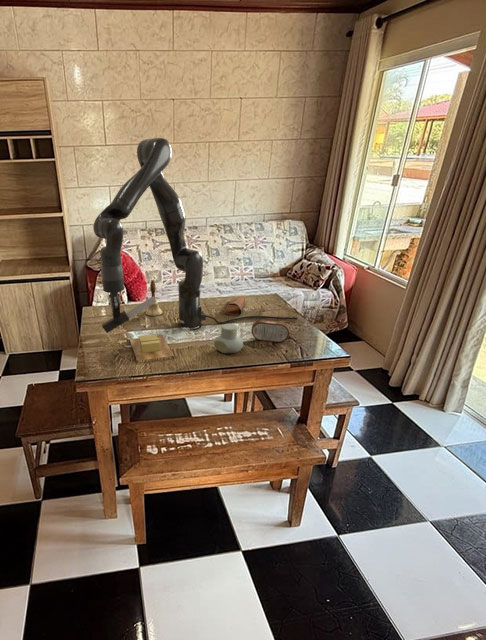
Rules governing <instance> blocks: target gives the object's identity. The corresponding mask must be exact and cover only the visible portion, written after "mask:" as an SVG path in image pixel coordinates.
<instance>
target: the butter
mask: <svg viewBox="0 0 486 640" xmlns="http://www.w3.org/2000/svg"><path fill="white" fill-rule="evenodd" d="M157 336H158V335H157V334H155V333H153V334H147V335H146V334H145V335H139V336H138V338H139V345H140V348H141V342H150V341H158V338H157Z"/></svg>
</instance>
